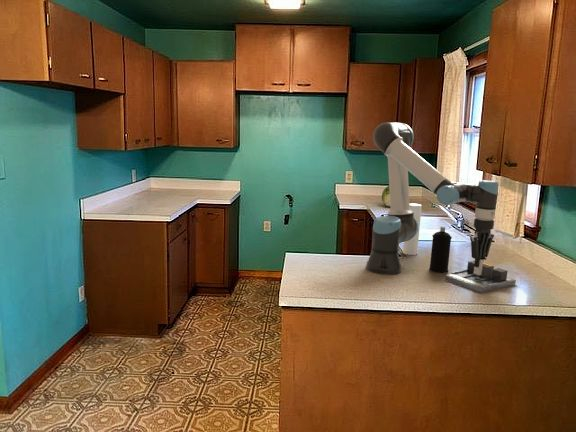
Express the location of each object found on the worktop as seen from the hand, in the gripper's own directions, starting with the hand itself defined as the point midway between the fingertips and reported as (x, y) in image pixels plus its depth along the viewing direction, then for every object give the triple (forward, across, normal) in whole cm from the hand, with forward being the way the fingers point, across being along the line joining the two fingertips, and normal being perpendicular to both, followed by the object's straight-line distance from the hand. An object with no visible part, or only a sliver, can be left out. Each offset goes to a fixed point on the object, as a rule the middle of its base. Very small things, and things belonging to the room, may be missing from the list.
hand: (477, 274), depth 195 cm
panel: (+4, +2, 0) cm, 4 cm away
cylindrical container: (+4, +9, +45) cm, 47 cm away
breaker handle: (+1, +5, 0) cm, 5 cm away
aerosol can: (+4, -1, +19) cm, 19 cm away
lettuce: (+5, +103, +152) cm, 184 cm away
